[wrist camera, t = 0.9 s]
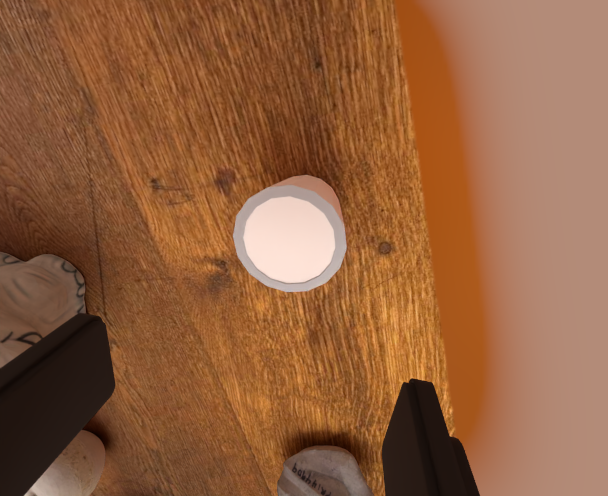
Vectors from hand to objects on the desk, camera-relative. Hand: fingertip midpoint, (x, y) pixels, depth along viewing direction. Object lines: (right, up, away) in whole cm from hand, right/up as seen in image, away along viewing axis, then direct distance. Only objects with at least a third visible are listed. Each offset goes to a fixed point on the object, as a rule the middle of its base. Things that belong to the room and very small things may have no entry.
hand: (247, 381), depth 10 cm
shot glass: (+2, +7, +15) cm, 17 cm away
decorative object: (-26, -20, +31) cm, 46 cm away
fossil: (+5, -20, +26) cm, 34 cm away
